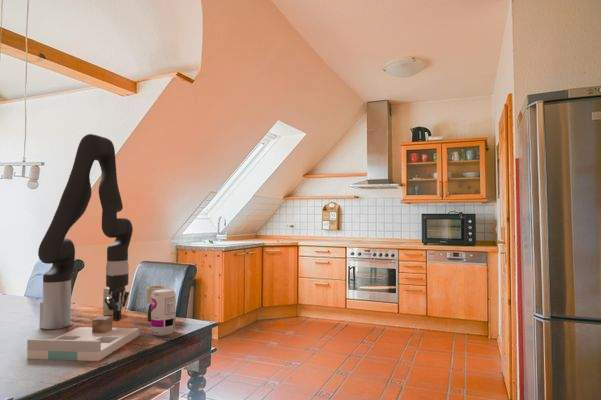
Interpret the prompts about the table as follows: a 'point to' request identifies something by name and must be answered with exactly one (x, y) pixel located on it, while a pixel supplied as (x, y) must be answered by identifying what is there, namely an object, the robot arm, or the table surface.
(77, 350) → the board
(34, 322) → the table surface
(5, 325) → the table surface
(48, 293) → the robot arm
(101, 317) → the walnut block
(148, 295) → the character mug
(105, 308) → the box
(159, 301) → the supplement can
